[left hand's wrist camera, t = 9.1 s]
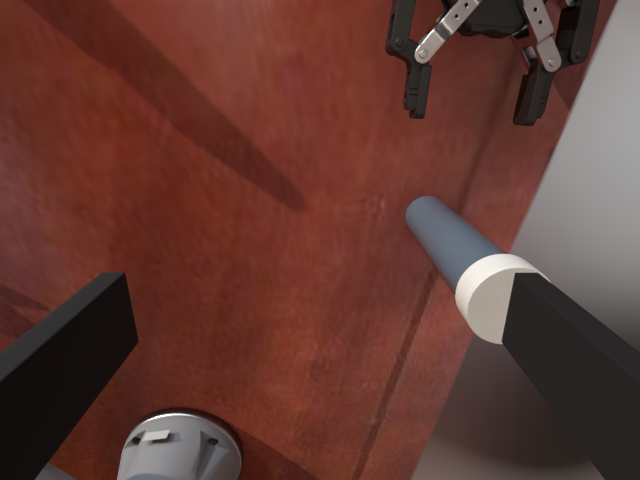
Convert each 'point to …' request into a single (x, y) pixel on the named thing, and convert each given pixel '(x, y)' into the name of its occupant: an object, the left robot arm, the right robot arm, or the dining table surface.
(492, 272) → the lid
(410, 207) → the grey cylinder
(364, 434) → the dining table surface
